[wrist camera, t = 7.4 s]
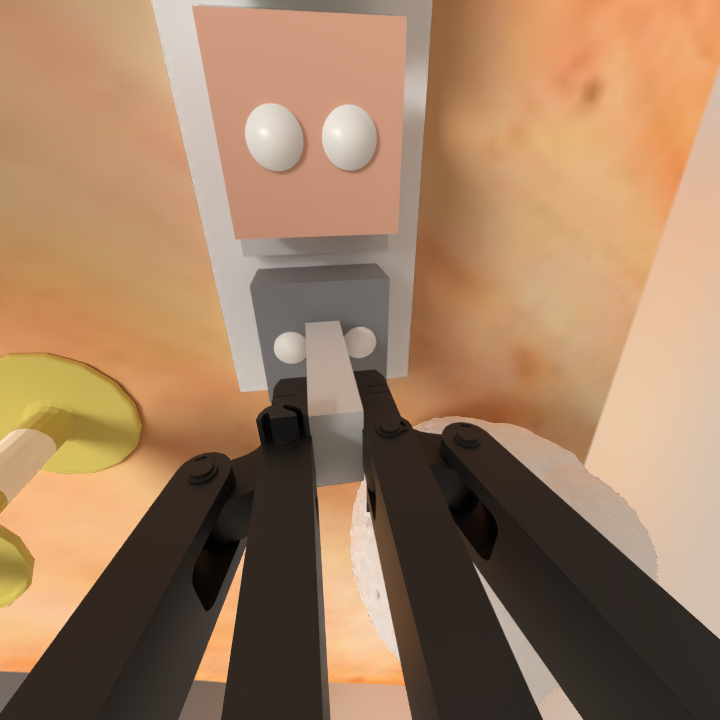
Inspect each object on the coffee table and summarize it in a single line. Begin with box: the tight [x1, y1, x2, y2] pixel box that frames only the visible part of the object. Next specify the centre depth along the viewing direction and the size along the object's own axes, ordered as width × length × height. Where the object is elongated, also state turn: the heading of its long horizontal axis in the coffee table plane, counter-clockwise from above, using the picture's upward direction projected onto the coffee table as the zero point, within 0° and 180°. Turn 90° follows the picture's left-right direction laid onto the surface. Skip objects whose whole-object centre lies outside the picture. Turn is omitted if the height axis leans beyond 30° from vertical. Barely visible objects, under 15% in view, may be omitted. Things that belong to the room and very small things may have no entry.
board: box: [151, 0, 433, 392], centre depth 16 cm, size 11×26×3 cm, turn 1°
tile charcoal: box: [250, 263, 390, 402], centre depth 17 cm, size 6×6×3 cm
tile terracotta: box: [192, 6, 407, 240], centre depth 12 cm, size 6×6×3 cm
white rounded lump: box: [349, 416, 658, 705], centre depth 22 cm, size 20×18×16 cm
